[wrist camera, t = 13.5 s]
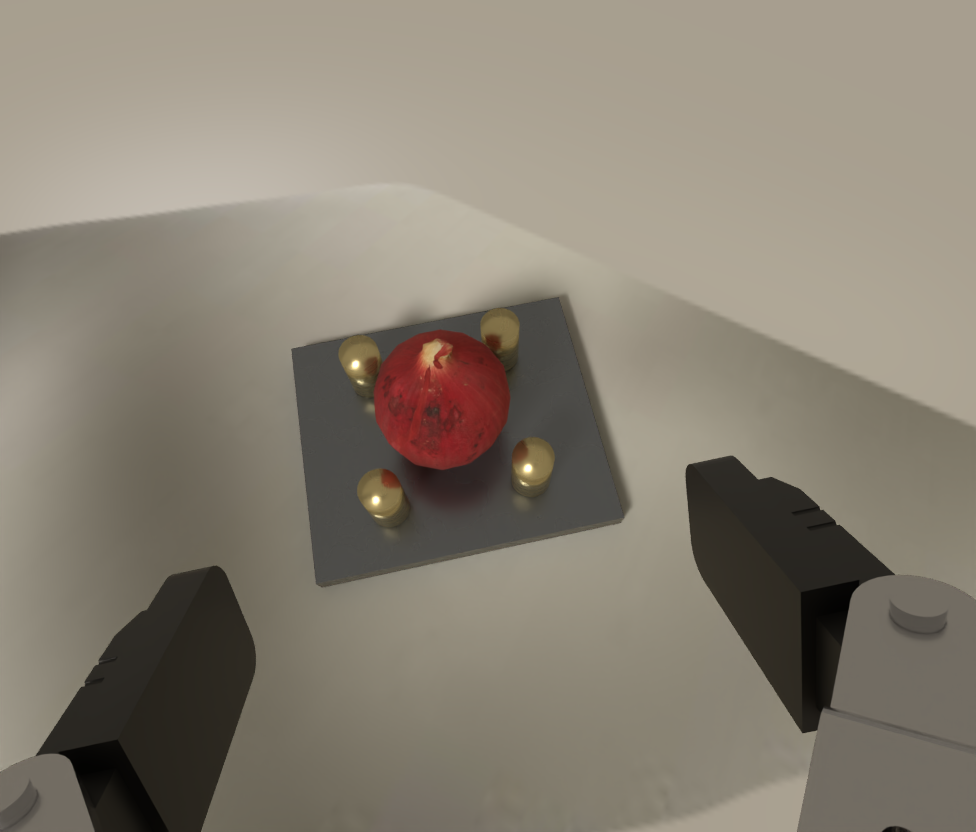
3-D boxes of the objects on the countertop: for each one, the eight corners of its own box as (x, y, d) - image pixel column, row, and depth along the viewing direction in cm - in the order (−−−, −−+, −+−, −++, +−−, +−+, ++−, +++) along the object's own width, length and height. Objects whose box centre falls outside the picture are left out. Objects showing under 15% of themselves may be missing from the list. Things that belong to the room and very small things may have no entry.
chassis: (321, 587, 30) (296, 572, 26) (297, 357, 34) (272, 317, 31) (620, 522, 30) (636, 499, 27) (557, 307, 35) (563, 262, 31)
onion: (497, 499, 30) (495, 436, 23) (375, 478, 31) (335, 410, 23) (518, 386, 32) (522, 296, 25) (404, 368, 33) (376, 274, 25)
